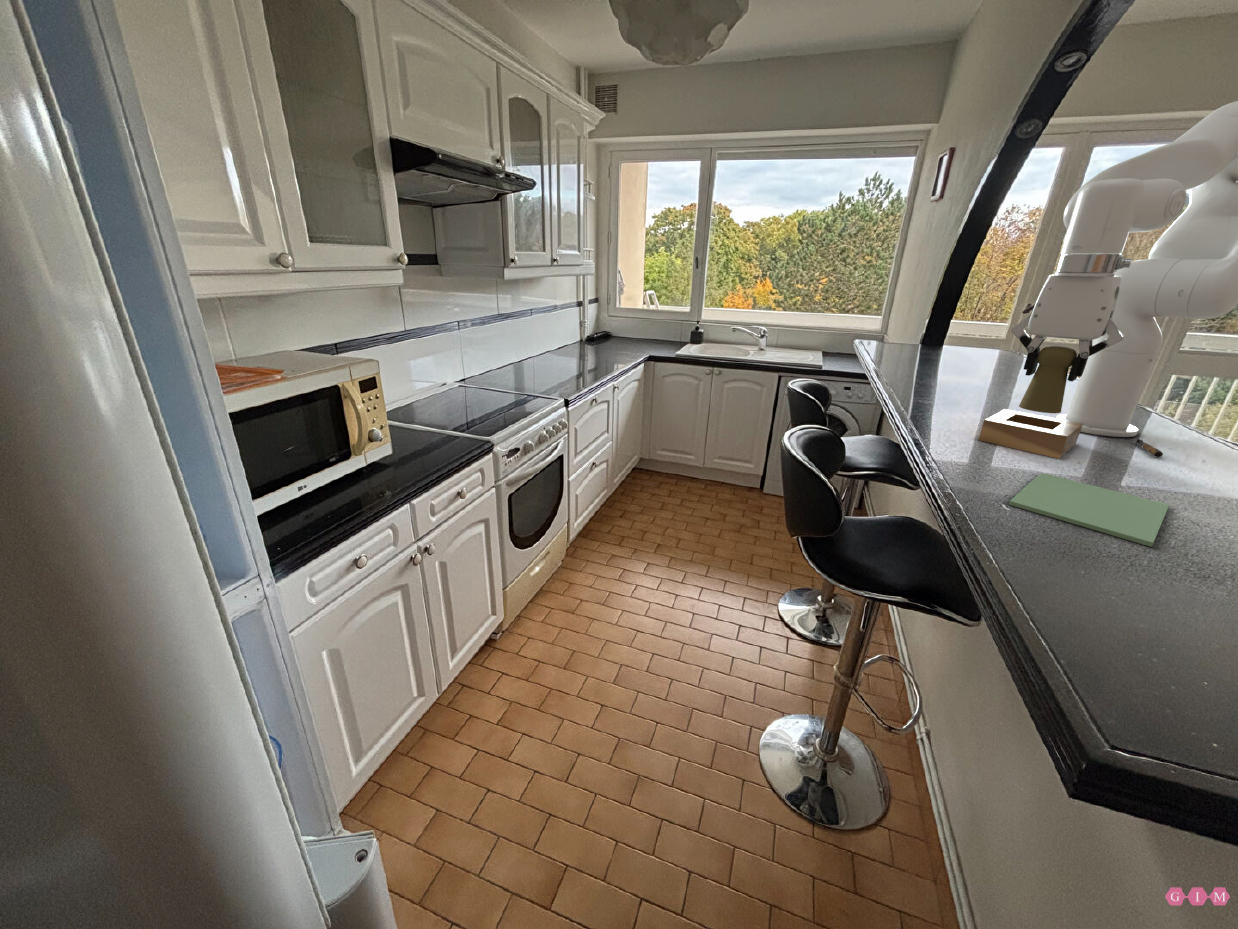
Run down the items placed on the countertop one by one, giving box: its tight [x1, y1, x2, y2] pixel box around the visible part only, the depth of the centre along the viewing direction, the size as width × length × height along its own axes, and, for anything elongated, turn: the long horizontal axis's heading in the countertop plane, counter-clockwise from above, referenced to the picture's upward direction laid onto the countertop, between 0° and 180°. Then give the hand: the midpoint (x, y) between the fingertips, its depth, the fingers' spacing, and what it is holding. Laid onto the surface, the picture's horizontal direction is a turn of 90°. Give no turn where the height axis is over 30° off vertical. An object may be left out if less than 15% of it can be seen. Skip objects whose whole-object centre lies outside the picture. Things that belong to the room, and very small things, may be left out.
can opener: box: [1135, 438, 1164, 458], centre depth 90 cm, size 9×2×1 cm, turn 147°
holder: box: [977, 408, 1083, 460], centre depth 92 cm, size 12×12×4 cm
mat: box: [1008, 472, 1170, 548], centre depth 68 cm, size 16×14×1 cm
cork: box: [1018, 345, 1078, 414], centre depth 89 cm, size 6×6×11 cm
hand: (1050, 376), depth 89 cm, fingers closed on cork, 5 cm apart
